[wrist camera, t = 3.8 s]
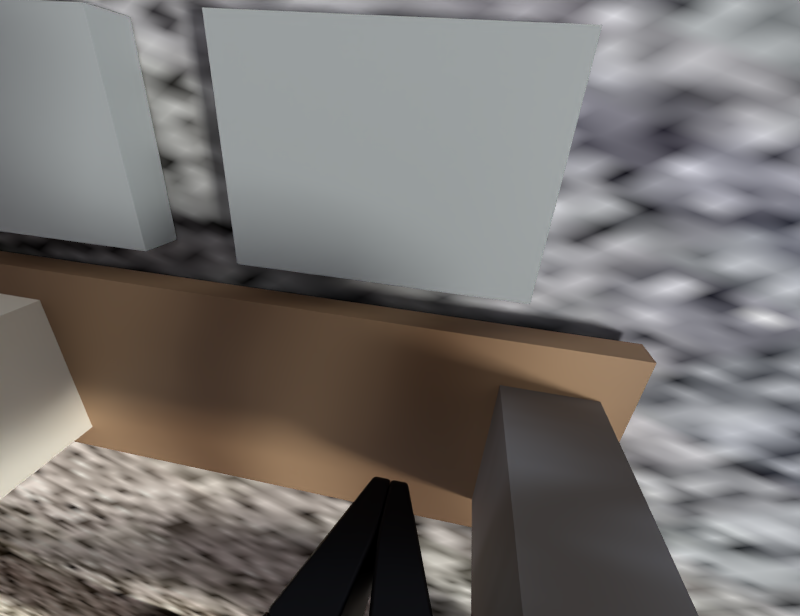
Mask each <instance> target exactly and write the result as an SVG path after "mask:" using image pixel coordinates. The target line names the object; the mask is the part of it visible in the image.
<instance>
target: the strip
mask: <svg viewBox="0 0 800 616" xmlns="http://www.w3.org/2000/svg"><path fill="white" fill-rule="evenodd" d="M0 294H6V295H12V296H18V297H24V298H30V299H36V300H40V302H41V304H42V307H43V309H44V312H45V314H46V316H47V319H48V321H49V324H50V326H51V328H52V331H53V333H54V336H55V338H56V341H57V343H58V345H59V348H60V350H61V353H62V355H63V357H64V360H65V362H66V365H67V367H68V369H69V372H70V374H71V377H72V379H73V381H74V384H75V386H76V389H77V391H78V393H79V396H80V398H81V401H82V403H83V405H84V408H85V410H86V413H87V415H88V417H89V420H90V422H91V425H92V428H90V429H89V430H88V431H87V432H85V433H84V434H83V435H82V436H80V437H79V438H78V439H76V440H75V442H80V443H84V444H89V445H94V446H98V447H103V448H107V449H112V450H117V451H121V452H126V453H131V454H135V455H140V456H145V457H149V458H154V459H158V460H163V461H168V462H172V463H177V464H182V465H186V466H191V467H195V468H200V469H205V470H209V471H214V472H219V473H223V474H228V475H232V476H237V477H242V478H246V479H251V480H256V481H260V482H265V483H269V484H274V485H279V486H283V487H288V488H293V489H297V490H302V491H306V492H311V493H316V494H320V495H325V496H330V497H334V498H339V499H343V500H348V501H353V502H354V501H355V499H356V498H357V497H358V496H359V494H360V493H361V492H362V491H363V489H364V488H365V487H366V486H367V484H368V483H369V482H370V481H371V479H372V478H374V477H382V478H387V479H389V480H390V483H391V481H392V480H396V481H401V482H406V483H407V484H408V487H409V492H410V497H411V502H412V508H413V513H414V515H418V516H422V517H427V518H431V519H436V520H441V521H445V522H450V523H455V524H459V525H464V526H468V527H472V583H471V616H698V614H697V612H696V609H695V607H694V605H693V603H692V601H691V598H690V596H689V594H688V592H687V590H686V587H685V585H684V583H683V581H682V579H681V577H680V574H679V572H678V570H677V568H676V566H675V563H674V561H673V559H672V557H671V555H670V553H669V550H668V548H667V546H666V544H665V542H664V539H663V537H662V535H661V533H660V531H659V529H658V526H657V524H656V522H655V520H654V518H653V515H652V513H651V511H650V509H649V507H648V504H647V502H646V500H645V498H644V496H643V494H642V491H641V489H640V487H639V485H638V483H637V480H636V478H635V476H634V474H633V472H632V470H631V467H630V465H629V463H628V461H627V459H626V456H625V454H624V452H623V450H622V448H621V446H620V443H619V442H620V439H621V437H622V435H623V433H624V431H625V429H626V427H627V425H628V422H629V420H630V418H631V416H632V414H633V412H634V410H635V408H636V406H637V403H638V401H639V399H640V397H641V395H642V393H643V391H644V389H645V386H646V384H647V382H648V380H649V378H650V376H651V374H652V372H653V370H654V367H655V365H656V362H655V361H654V359H653V358H652V357H651V355H650V354H649V353H648V351H647V350H646V349H645V347H644V346H643V345H642V344H636V343H629V342H622V341H616V340H609V339H602V338H595V337H588V336H581V335H574V334H568V333H561V332H554V331H547V330H540V329H533V328H526V327H519V326H513V325H506V324H499V323H492V322H485V321H478V320H471V319H465V318H458V317H451V316H444V315H437V314H430V313H423V312H416V311H410V310H403V309H396V308H389V307H382V306H375V305H368V304H362V303H355V302H348V301H341V300H334V299H327V298H320V297H313V296H307V295H300V294H293V293H286V292H279V291H272V290H265V289H259V288H252V287H245V286H238V285H231V284H224V283H217V282H211V281H204V280H197V279H190V278H183V277H176V276H169V275H162V274H156V273H149V272H142V271H135V270H128V269H121V268H114V267H108V266H101V265H94V264H87V263H80V262H73V261H66V260H59V259H53V258H46V257H39V256H32V255H25V254H18V253H11V252H5V251H0Z"/></svg>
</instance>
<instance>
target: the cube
mask: <svg viewBox="0 0 800 616" xmlns="http://www.w3.org/2000/svg"><path fill="white" fill-rule="evenodd" d="M90 428H92V425H91V422H90V420H89V417H88V415H87V413H86V410H85V408H84V405H83V403H82V401H81V398H80V396H79V393H78V391H77V389H76V386H75V384H74V381H73V379H72V377H71V374H70V372H69V369H68V367H67V365H66V362H65V360H64V357H63V355H62V353H61V350H60V348H59V345H58V343H57V341H56V338H55V336H54V333H53V331H52V328H51V326H50V324H49V321H48V319H47V316H46V314H45V312H44V309H43V307H42V304H41V302H40V300H36V299H30V298H24V297H18V296H12V295H6V294H0V500H1V499H2V498H3V497H4V496H6V495H7V494H8V493H9V492H11V491H12V490H13V489H15V488H16V487H17V486H18V485H20V484H21V483H22V482H23V481H25V480H26V479H27V478H28V477H30V476H31V475H32V474H33V473H35V472H36V471H37V470H39V469H40V468H41V467H42V466H44V465H45V464H46V463H47V462H49V461H50V460H51V459H52V458H54V457H55V456H56V455H57V454H59V453H60V452H61V451H63V450H64V449H65V448H66V447H68V446H69V445H70V444H71V443H73V442H74V441H75V440H76V439H78V438H79V437H80V436H82V435H83V434H84V433H85V432H87V431H88V430H89V429H90Z"/></svg>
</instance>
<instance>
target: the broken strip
mask: <svg viewBox="0 0 800 616" xmlns="http://www.w3.org/2000/svg"><path fill="white" fill-rule="evenodd" d="M202 12H203V19H204V26H205V34H206V41H207V48H208V55H209V63H210V70H211V77H212V84H213V92H214V99H215V106H216V113H217V121H218V128H219V135H220V142H221V150H222V157H223V164H224V171H225V179H226V186H227V193H228V200H229V208H230V215H231V222H232V229H233V237H234V244H235V251H236V258H237V264H242V265H249V266H256V267H263V268H271V269H278V270H285V271H292V272H300V273H307V274H314V275H321V276H329V277H336V278H343V279H350V280H358V281H365V282H372V283H380V284H387V285H394V286H401V287H409V288H416V289H423V290H430V291H438V292H445V293H452V294H459V295H467V296H474V297H481V298H488V299H496V300H503V301H510V302H517V303H525V304H530V302H531V298H532V295H533V291H534V287H535V283H536V279H537V275H538V271H539V268H540V264H541V260H542V256H543V252H544V248H545V244H546V241H547V237H548V233H549V229H550V225H551V221H552V217H553V213H554V210H555V206H556V202H557V198H558V194H559V190H560V186H561V183H562V179H563V175H564V171H565V167H566V163H567V159H568V156H569V152H570V148H571V144H572V140H573V136H574V132H575V129H576V125H577V121H578V117H579V113H580V109H581V105H582V101H583V98H584V94H585V90H586V86H587V82H588V78H589V74H590V71H591V67H592V63H593V59H594V55H595V51H596V47H597V44H598V40H599V36H600V32H601V28H602V25H591V24H568V23H545V22H523V21H500V20H477V19H454V18H431V17H409V16H386V15H363V14H340V13H317V12H294V11H272V10H249V9H226V8H203V7H202ZM0 231H2V232H9V233H17V234H24V235H31V236H38V237H46V238H53V239H60V240H67V241H75V242H82V243H89V244H96V245H104V246H111V247H118V248H125V249H133V250H140V251H148V250H151V249H153V248H156V247H159V246H161V245H164V244H166V243H169V242H172V241H174V240H177V238H176V233H175V228H174V224H173V219H172V214H171V209H170V205H169V200H168V195H167V190H166V186H165V181H164V176H163V171H162V167H161V162H160V157H159V152H158V148H157V143H156V138H155V133H154V129H153V124H152V119H151V114H150V109H149V105H148V100H147V95H146V90H145V86H144V81H143V76H142V71H141V67H140V62H139V57H138V52H137V48H136V43H135V38H134V33H133V29H132V24H131V19H130V17H128V16H125V15H122V14H119V13H116V12H112V11H109V10H106V9H103V8H100V7H97V6H93V5H90V4H87V3H84V2H66V1H43V0H0Z"/></svg>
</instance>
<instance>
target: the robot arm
mask: <svg viewBox="0 0 800 616" xmlns="http://www.w3.org/2000/svg"><path fill="white" fill-rule="evenodd" d="M371 589H372V591H371ZM370 592H371V601H370V611H369V616H433V615H432V609H431V604H430V599H429V593H428V588H427V583H426V577H425V572H424V567H423V561H422V556H421V551H420V545H419V540H418V535H417V529H416V524H415V518H414V513H413V508H412V502H411V497H410V492H409V487H408V484H407V483H406V482H401V481H396V480H392V481H391V483H390V480H389V479H387V478H382V477H374V478H372V479H371V481H370V482H369V483H368V484H367V486H366V487H365V488H364V489H363V491H362V492H361V493H360V494H359V496H358V497H357V498H356V499H355V501H354V502H353V503H352V505H351V506H350V507H349V508H348V510H347V511H346V512H345V513H344V515H343V516H342V517H341V518H340V520H339V521H338V522H337V523H336V525H335V526H334V527H333V528H332V530H331V531H330V532H329V533H328V535H327V536H326V537H325V538H324V540H323V541H322V542H321V543H320V545H319V546H318V547H317V549H316V550H315V551H314V552H313V554H312V555H311V556H310V557H309V559H308V560H307V561H306V562H305V564H304V565H303V566H302V567H301V569H300V570H299V571H298V572H297V574H296V575H295V576H294V577H293V579H292V580H291V581H290V582H289V584H288V585H287V586H286V587H285V589H284V590H283V591H282V593H281V594H280V595H279V596H278V598H277V599H276V600H275V601H274V603H273V604H272V605H271V606H270V608H269V612H265V614H264V615H263V616H363V615H364V612H365V609H366V605H367V602H368V599H369V596H370Z"/></svg>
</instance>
